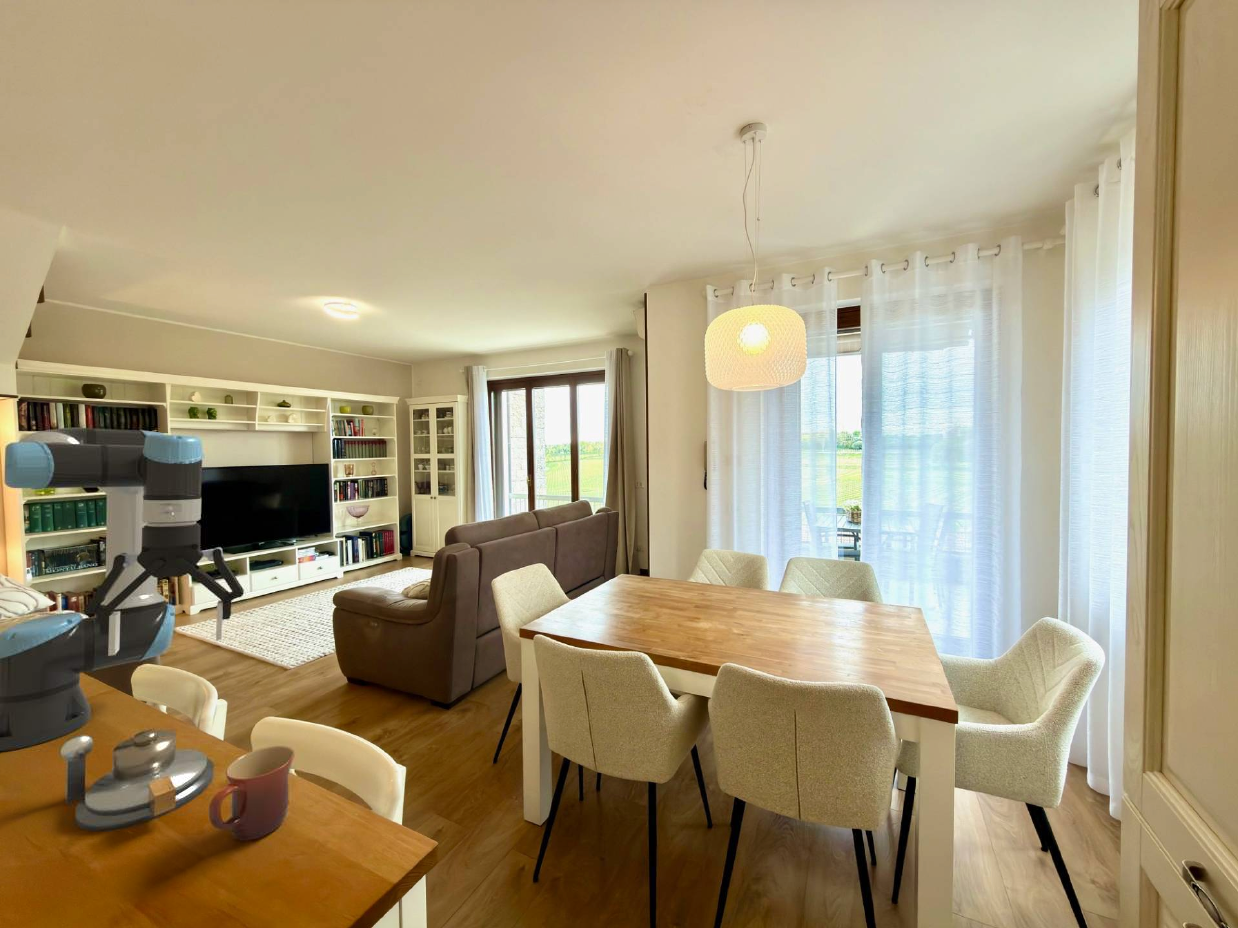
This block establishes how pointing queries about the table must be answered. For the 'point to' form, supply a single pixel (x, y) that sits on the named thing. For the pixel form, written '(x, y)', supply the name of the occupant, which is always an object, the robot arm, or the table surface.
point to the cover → (144, 753)
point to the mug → (255, 793)
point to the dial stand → (76, 765)
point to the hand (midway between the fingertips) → (169, 644)
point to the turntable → (146, 787)
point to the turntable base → (141, 815)
